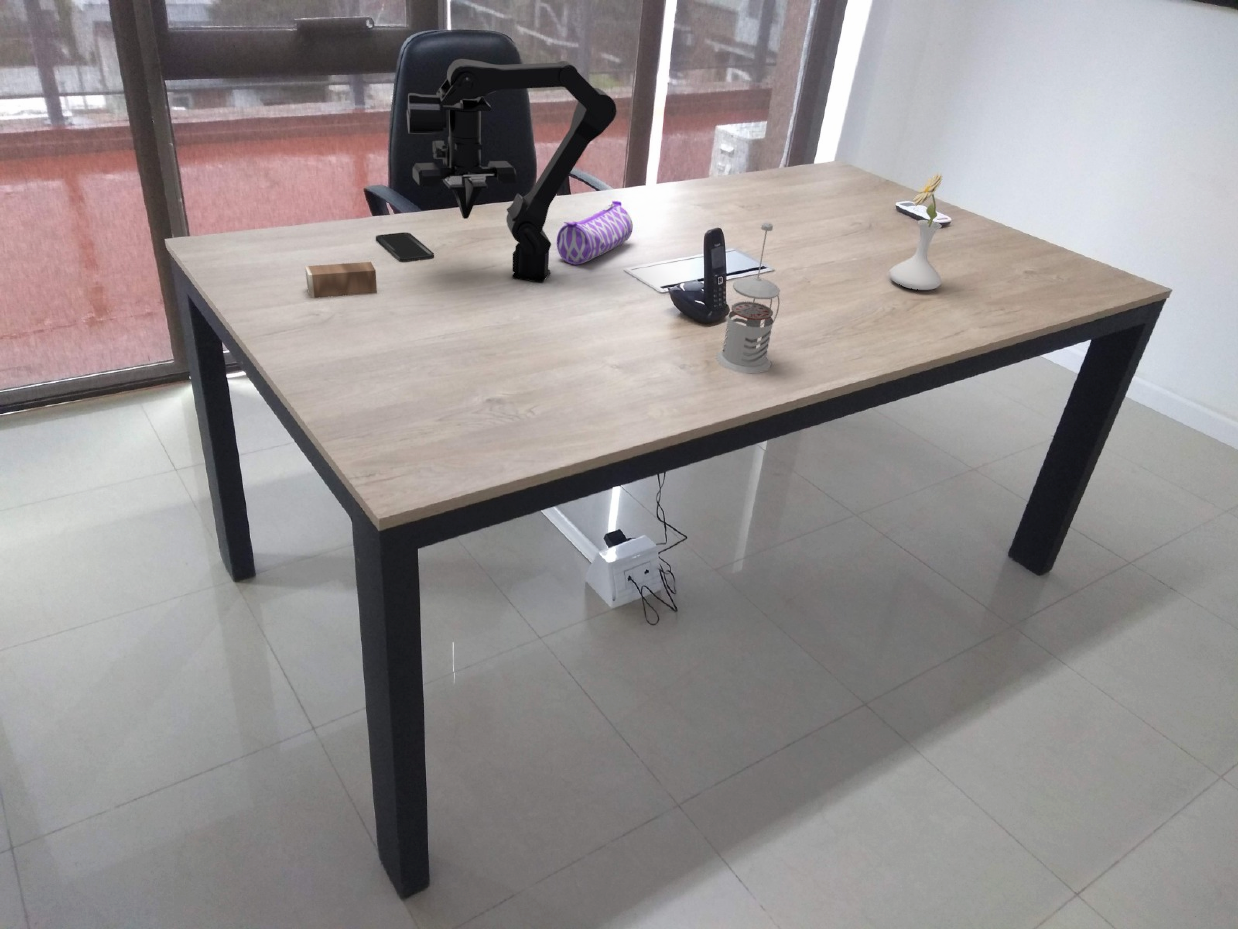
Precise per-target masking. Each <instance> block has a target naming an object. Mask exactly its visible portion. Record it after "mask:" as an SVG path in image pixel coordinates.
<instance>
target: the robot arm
mask: <svg viewBox="0 0 1238 929" xmlns="http://www.w3.org/2000/svg"><path fill="white" fill-rule="evenodd" d="M543 88H544V89H546V88H565V89H566V91H567V92H568V93H570V94H571V96H572V97H573V98H575V99H576V101H577V104H576V106H575V109H574V111H573V114H572V118H571V119H572V120H571V122H570V127H569V129H568V131H567V133H566V134H565V136H564V137H563V139H562V140H561V142H560V144H559V146H558V147H557V149H556V150H555V152H554V153H553V155H552V156H551V158H550V160H549V161H548V163H547V165H546V166H545V168H544V170H543V171H542V173H541V174H540V175H539V178H538V179H537V180H536V183H535V184H534V185H533V187H532V188H531V190H530V191H529V192H528V193H527V194H525V195H524V196H522V195H520V193H516V195H515V197H514V199H513V202H512V203H511V205H510V206H508V207H507V208H506V212H507V215H506V218H505V219H506V225H507V228H508V230H509V231H510V234H511V236H512V237H513V238H514V240H515V241H516V242H518V243H517V244H516V245H515V248H514V251H513V252H512V265H511V266H512V268H511V271H512V272H513V274H512V276H511V278H513V279H516V280H517V279H518V280H524V281H530V282H536V283H537V282H538V283H543V282H544V281H545V280H546V279H547V277H549V275H550V274H551V269H549V261H550V260H549V259H550V249H551V247H552V242H551V241H550V240H549V238H548V236H547V233H546V232H545V230H544V226H545V224H546V220H547V217H548V212H549V208H550V206H551V204H552V202H553V201H554V199H555V197H556V196H557V195H558V193H559V191H560V189H561V188H562V186H563V185H564V183H565V182H566V180H567V179H568V177H569V176H570V174H571V172H572V170H573V169H574V168H575V165H576V164H577V163H578V161H579V160H580V159H581V156H582V155H583V153H584V152H585V150H586V149H587V147H588V145H589V144H590V143H592V141H594V140H595V139H596V138H598V137H599V136H600V135H602V134H603V133H604V131H606V129H607V128H608V127H609V126H610V125H611V124H612V123H613V121H614V120H615V118H616V117H617V105H616V103H615V101H614V99H613V98H612V97H611V96H609V94H607V93H606V92H605V91H604V90H602V89H601V88H598V87H593V86H592V85H591V84H590V83H589V82H588V81H587V80H586V79H585V78H584V77H583V75H581V74H580V73H579V72H578V69H577V68H576V67H575V66H574V64H572V63H571V62H569V61H567V60H561V61H558V62H542V63H541V62H539V63H537V62H536V63H519V64H518V63H517V64H515V63H513V64H492V63H488V62H485V61H480V60H473V59H467V58H466V59H465V58H459V59H455V60H453V61H452V62H451V64H450V65H449V66H448V69H447V71H446V79H445V80H444V82H443V83H442V84H441V86H440V87H439V88H438V90H437V92H435V93H436V94H421V93H416V92H409V93H408V94H407V109H406V122H407V133H408V134H410V135H412V134H413V135H441V132H444V130H445V129H447V111H448V131H449V132H448V133H449V134H448V137H447V144H445V141H444V140H433V141H432V156H433V159H435V160H442V164H443V165H446V166H448V167H440V168H439V167H438V166H437V165H436V164H435V163H434V162H420V163H419V162H415V163H414V165H413V166H412V179H413V180H414V181H415V182H416V183H417V185H418V186H421V187H437V186H438V185H440V183H441V182H443V183H444V184H445V186H446V187H447V188H448V189H450V190H452V192H453V194H454V196H455V199H456V202H457V205H458V207H459V210H460V214H461V216H462V218H463V219H464V220H465V219H469V218H470V216H471V212H472V209H473V208H474V206H475V203H476V201H477V199H478V198H479V197H480V195H481V192H482V191H483V190H484V189H488V184H487V183H486V180H487V178H496V180H497V181H498V182H499V183H501V184H515V183H517V170H516V169H515V167H514V166H513V165H511V164H510V163H509V161H507V160H495V161H494V160H489V161H488V164H487V166H482V165H481V151H483V143H482V142H481V141H482V140H481V136H482V135H481V129H482V128H481V127H482V126H481V125H482V124H481V121H482V119H481V118H482V114H481V112H491V111H492V110H493V109H492V107H491V105H490V104H489V103H488V101H486V99H485V96H488V95H490V94H492V93H495V92H500V91H504V90H522V89H524V90H525V89H543ZM463 179H464V183H463Z"/></svg>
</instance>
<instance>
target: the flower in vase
mask: <svg viewBox="0 0 1238 929" xmlns="http://www.w3.org/2000/svg"><path fill="white" fill-rule="evenodd" d="M942 180H943V173H940V174H939V172H936V173H935V174H934V175H933V177H932V178H931V177H928V179H926V182H925V183H924V184H923V187H920V188H919V189H918V191H917V193H918V194H916V196H915V197H914V198H913V200H912V201H913V202H914V203H913V206H915V207H917V206H921V205H922V204H924V203H925V202H926V201H928V200H929V198H930V197H932V201H933V202H932V203H930V205H928V207H926V214H927V215H928V217H929V220H927V219H920V220H918V221H917V225H918V228H919V241H918V245H917V249H916V251H915V253H914V254H913V255H912V256H911V257H910V258H908V259H905V260H904V261H902V262H901V261H900V263H897V264H895V265H894V266H892V267H891V268H890V270H889V271H888V276H889V279H890V280H891V281H893V282H894V283H896V284H897V285H899V284H900V285H899V286H901V285H902V287H903V288H904V287H905V288H908V289H911V288H912V290H917V289H918V291H930V290H934V289H937V288H939V287H940V286H941V284H942V278H941V276H940V274H939V272H938V271H937V270H936V269H935V267H934V266H933V265H932V264H931V263H930V261H929V259H928V251H929V248H930V244H931V242H932V239H933V237H934V236H935V234H936V233H937V232H938V230H940V229H941V228H942V224H940V223H939V222H936V221H935V220H934V219H936V218H937V217H938V213H937V209H936V207H937V206H936V205H937V204H936V199H935V198H936V197H935V192H936V191H937V189H938V188H939V187H940V186H941V182H942Z"/></svg>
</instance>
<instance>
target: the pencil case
mask: <svg viewBox="0 0 1238 929" xmlns="http://www.w3.org/2000/svg"><path fill="white" fill-rule="evenodd" d="M563 223H564V224H563V225H562V226H561V228H560V229H559V231H558V233H557V236H556V248H557V252H558V255H559V256H560V258H562V259H563V260H564V261H565V262H567V263H569V264H571V265H574V266H576V265H577V266H578V265H581V264H584V263H587V262H589V261H591V260H593V259H595V258H596V257H599V256H601V255H604V254H605V253H608V252H609V251H611V250H613V249H615V248H617V247H618V246H620V245H622V244H624V243H625V242H626V241H628V240H629V239H630V237H631V235H632V233H633V226H634V224H633V220H632V217H631V215H630V214H629V212H628V211H627V210H626V209H625V208H623V207H622V202H621V201H619V200H612V201H611V204H608V205H607V206H605V207H604V208H603V209H601V210H600V211H599V212H597V213H594V214H593V215H591V216H589V217H587V218H584V219H582V220H580V221H572V222H569V221H564V222H563ZM562 259H561V260H562Z"/></svg>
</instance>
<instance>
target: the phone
mask: <svg viewBox="0 0 1238 929" xmlns="http://www.w3.org/2000/svg"><path fill="white" fill-rule="evenodd" d="M375 241H376V243H377V244H379V245H380V246H381V247H383V249H384V250H386V252H388V253H389V254H390V255H391V256H392V257H393V258H394V259H395V260H397V262H399V263H411V262H417V261H418V260H420V261H426V260H433V259H434V258H435V253H434V252H433V251H432V250H430V249H429V248H428V247H427V246H426V245H425V244H424V243H423V242H421V241H420V240H419V239H417V238H416V237H415V236H414V235H413V234H412V233H410V232H405V231H403V232H396V233H386V234H378V235H375Z"/></svg>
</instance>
